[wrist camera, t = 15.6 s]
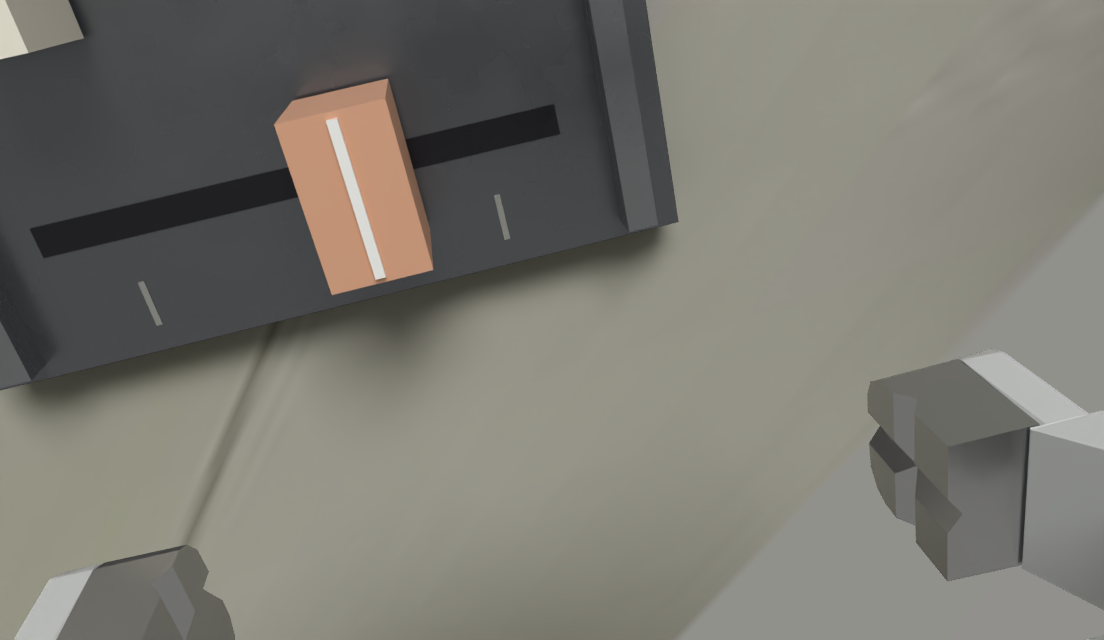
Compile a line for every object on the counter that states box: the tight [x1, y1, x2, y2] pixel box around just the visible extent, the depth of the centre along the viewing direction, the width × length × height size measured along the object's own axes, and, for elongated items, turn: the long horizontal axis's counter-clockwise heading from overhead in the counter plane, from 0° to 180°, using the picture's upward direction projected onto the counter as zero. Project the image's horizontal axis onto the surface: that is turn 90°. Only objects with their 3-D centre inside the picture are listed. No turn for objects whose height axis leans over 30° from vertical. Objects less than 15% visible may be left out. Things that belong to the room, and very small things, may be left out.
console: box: [0, 0, 678, 390], centre depth 26 cm, size 24×17×3 cm
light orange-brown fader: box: [274, 79, 433, 295], centre depth 26 cm, size 3×5×4 cm, turn 12°
